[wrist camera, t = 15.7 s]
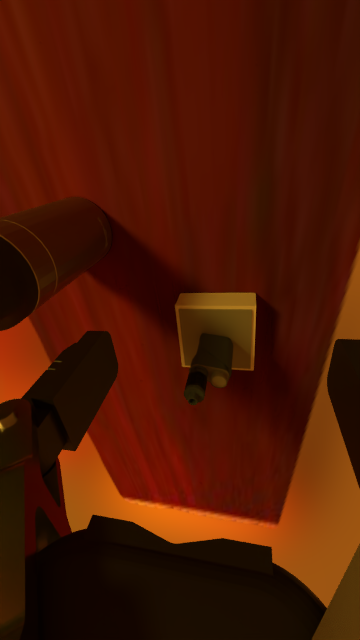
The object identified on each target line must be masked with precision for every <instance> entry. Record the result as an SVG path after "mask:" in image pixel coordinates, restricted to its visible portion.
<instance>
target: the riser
mask: <svg viewBox="0 0 360 640" xmlns="http://www.w3.org/2000/svg"><path fill="white" fill-rule="evenodd" d="M175 310H176V318H177V327H178V335H179V343H180V351H181V359H182V367H190V366H191V362H192V359H193V358H194V356H195V355H196V353H197V349H198V345H199V339H200V336H201V334H202V333H206V334H212V335H218V336H224V337H228V338H230V339H231V341H232V343H233V359H232V369H235V370H253V371H254V352H255V326H256V293H180V296H179V298H178V300H177V302H176V304H175Z"/></svg>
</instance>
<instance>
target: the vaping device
mask: <svg viewBox="0 0 360 640" xmlns="http://www.w3.org/2000/svg"><path fill="white" fill-rule="evenodd" d="M232 359H233V343H232V341H231V339H230V338H228V337H224V336H218V335H212V334H206V333H202V334H201V336H200V339H199V345H198V349H197V353H196V355H195V356H194V358H193V359H192V362H191V366H190V369H189V375H188V379H187V383H186V388H185V391H184V396H185V398H186V399H187V400H188V402H189V404H191V405H196V404H197V403H198V402H201V401H202V400H203V399H204V396H205V390H206V384H207V381H209V382H211V384H212V385H213V386H214V387H217V388H223V387H225V386H226V385H227V381H228V380H229V378H230V376H231V373H232Z"/></svg>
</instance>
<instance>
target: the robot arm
mask: <svg viewBox="0 0 360 640" xmlns="http://www.w3.org/2000/svg"><path fill="white" fill-rule="evenodd" d="M111 244H112V231H111V227H110V224H109V221H108V219H107V217H106V216H105V214H104V213H103V212H102V210H101V209H100V208H99V207H98V206H96V205H95V204H94V203H92V202H91V201H89V200H87V199H84V198H80V197H69V198H66V199H62V200H59V201H56V202H52V203H49V204H45V205H42V206H38V207H35V208H32V209H28V210H25V211H21V212H18V213H15V214H11V215H8V216H4V217H1V218H0V331H2V330H6V329H9V328H11V327H14V326H15V325H17V324H18V323H20V322H21V321H22V320H23V319H25V318H26V317H27V316H29V315H30V314H31V313H32V312H33V311H35V310H36V309H37V308H39V307H40V306H41V305H42V304H44V303H45V302H46V301H48V300H49V299H50V298H51V297H53V296H54V295H55V294H56V293H58V292H59V291H60V290H62V289H63V288H64V287H65V286H67V285H68V284H69V283H71V282H72V281H73V280H75V279H76V278H77V277H78V276H80V275H81V274H82V273H84V272H85V271H86V270H88V269H89V268H90V267H92V266H93V265H94V264H95V263H97V262H98V261H99V260H101V259H102V258H103V257H104V256H105V255H106V254H107V253H108V251H109V249H110V247H111ZM117 373H118V362H117V358H116V354H115V350H114V346H113V343H112V339H111V335H110V334H109V332H107V331H87V332H86V333H85V334H84V335H83V337H82V338H81V339H80V340H79V341H78V342H77V343H74V344H73V345H71V346H70V347H68V348H67V349H65V350H64V351H63V352H62V353H61V354H60V355H59V356H58V357H57V358H56V359H55V362H53V363H52V364H51V365H50V367H49V368H48V370H46V371H45V372H44V373H43V374H42V376H40V378H39V379H38V380H37V381H36V382H35V383H34V385H33V386H32V387H31V388H30V389H29V390H28V391H27V392H26V394H25V395H24V396H23V397H22V398H21V399H12V400H8V401H5V402H3V403H1V404H0V640H360V544H359V546H358V548H357V550H356V552H355V554H354V556H353V558H352V560H351V562H350V564H349V566H348V568H347V570H346V572H345V574H344V576H343V578H342V580H341V582H340V584H339V586H338V588H337V590H336V592H335V594H334V596H333V598H332V600H331V602H330V604H329V606H328V608H326V607H325V606H324V604H323V603H322V602H321V601H320V600H319V598H318V597H316V595H315V594H314V593H313V592H312V591H311V590H310V589H309V588H308V587H307V586H306V585H305V584H303V583H302V582H301V581H300V580H299V579H297V578H296V577H295V576H294V575H292V574H291V573H289V572H288V571H286V570H285V569H283V568H282V567H280V566H278V565H276V564H274V563H272V549H271V547H268V546H262V545H257V544H251V543H246V542H240V541H235V540H229V539H224V538H221V539H213V540H206V541H197V542H189V543H181V544H173V543H170V542H168V541H166V540H164V539H163V538H161V537H159V536H157V535H155V534H153V533H152V532H150V531H148V530H146V529H144V528H143V527H141V526H139V525H137V524H135V523H133V522H130V521H125V520H119V519H114V518H108V517H103V516H97V515H92V518H91V520H90V523H89V525H88V527H87V529H83V530H79V531H76V532H73V533H72V531H71V528H70V526H69V522H68V519H67V515H66V509H65V502H64V493H63V485H62V477H61V469H60V462H59V459H58V455H59V454H60V452H61V450H62V449H63V450H70V451H76V449H77V448H78V446H79V444H80V442H81V440H82V438H83V437H84V435H85V433H86V431H87V429H88V428H89V426H90V424H91V422H92V420H93V419H94V417H95V415H96V413H97V411H98V410H99V408H100V406H101V404H102V402H103V401H104V399H105V397H106V395H107V393H108V392H109V390H110V388H111V386H112V384H113V383H114V381H115V379H116V377H117ZM327 387H328V393H329V396H330V399H331V403H332V405H333V408H334V412H335V415H336V418H337V421H338V424H339V427H340V430H341V433H342V436H343V439H344V442H345V445H346V448H347V451H348V455H349V457H350V461H351V463H352V466H353V470H354V473H355V476H356V479H357V482H358V485H359V488H360V340H352V339H351V340H350V339H338V340H336V342H335V344H334V349H333V353H332V358H331V363H330V367H329V371H328V377H327Z"/></svg>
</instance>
